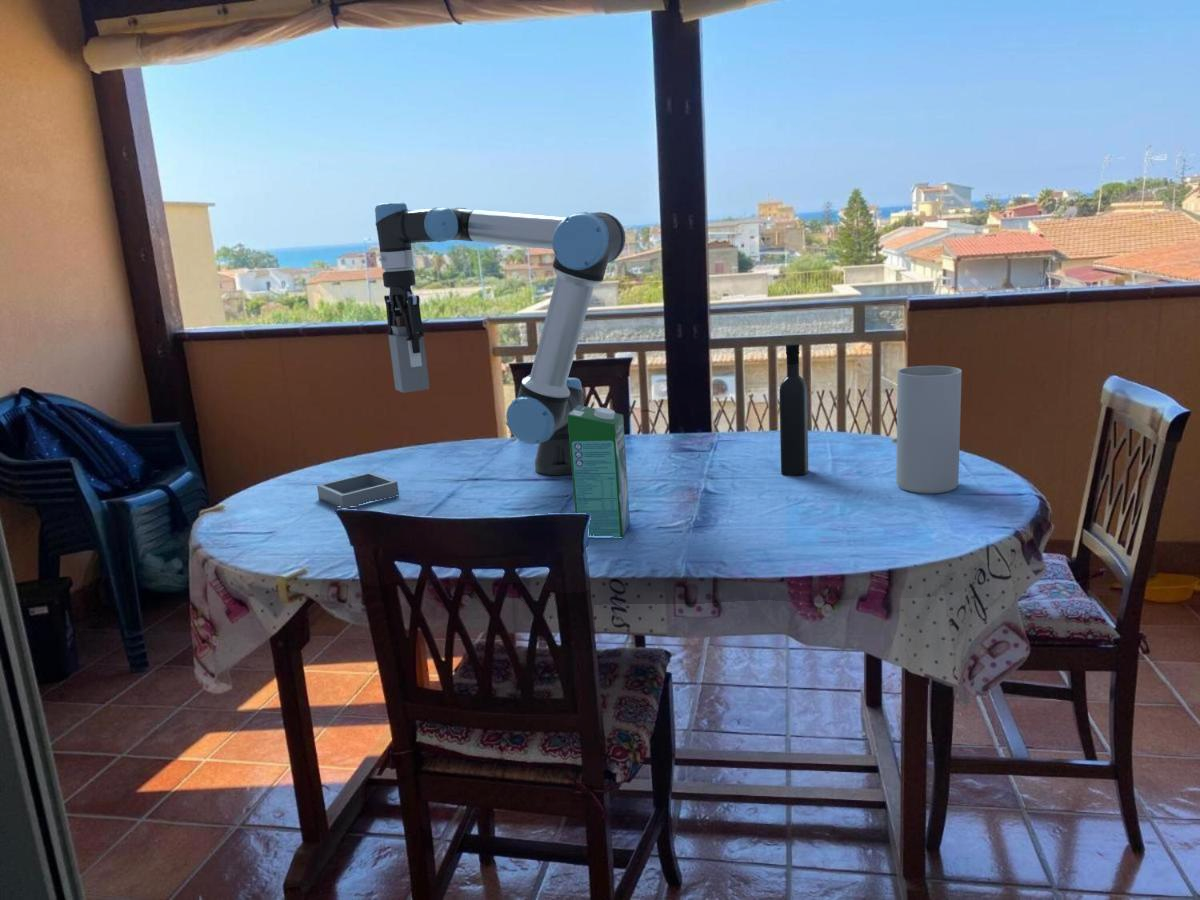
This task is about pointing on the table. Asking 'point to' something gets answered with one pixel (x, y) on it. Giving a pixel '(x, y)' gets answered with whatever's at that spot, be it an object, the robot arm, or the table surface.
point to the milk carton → (599, 469)
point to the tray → (357, 490)
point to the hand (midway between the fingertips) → (409, 365)
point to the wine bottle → (793, 417)
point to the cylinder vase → (928, 428)
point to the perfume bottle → (406, 361)
